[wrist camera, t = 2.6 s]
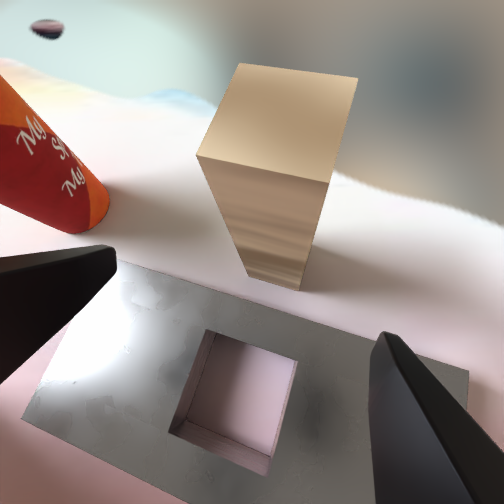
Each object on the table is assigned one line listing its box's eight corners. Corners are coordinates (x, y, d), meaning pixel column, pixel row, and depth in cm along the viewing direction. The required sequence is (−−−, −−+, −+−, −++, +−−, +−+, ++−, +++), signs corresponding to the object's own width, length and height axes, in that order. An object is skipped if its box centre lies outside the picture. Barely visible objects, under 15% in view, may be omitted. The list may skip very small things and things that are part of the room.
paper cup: (136, 204, 24) (-28, 38, 11) (67, 262, 23) (-210, 147, 10) (93, 158, 27) (-83, -22, 14) (28, 208, 26) (-235, 60, 13)
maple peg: (298, 291, 20) (329, 183, 7) (248, 276, 21) (195, 154, 8) (311, 244, 21) (358, 78, 8) (263, 231, 22) (239, 63, 9)
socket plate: (417, 579, 14) (450, 635, 11) (59, 408, 19) (21, 418, 16) (439, 367, 18) (469, 371, 15) (128, 267, 22) (106, 255, 20)
